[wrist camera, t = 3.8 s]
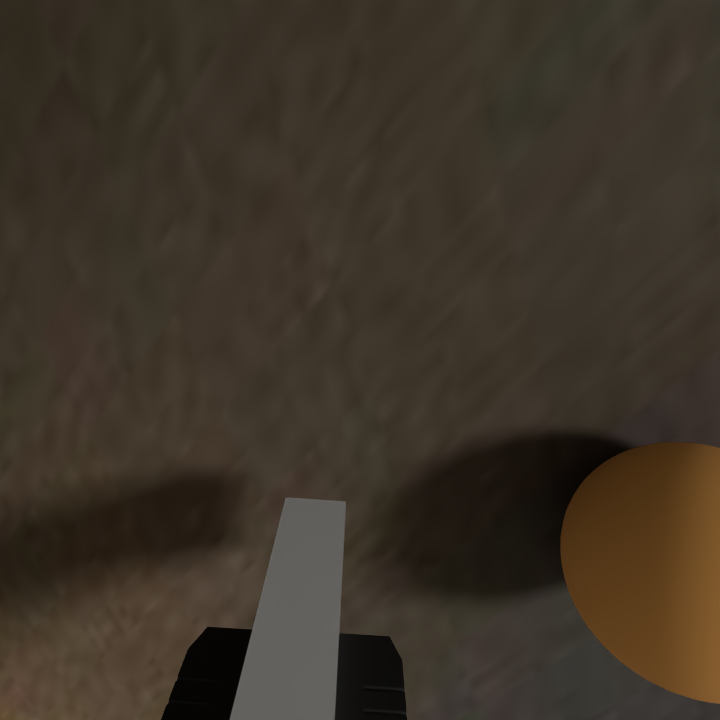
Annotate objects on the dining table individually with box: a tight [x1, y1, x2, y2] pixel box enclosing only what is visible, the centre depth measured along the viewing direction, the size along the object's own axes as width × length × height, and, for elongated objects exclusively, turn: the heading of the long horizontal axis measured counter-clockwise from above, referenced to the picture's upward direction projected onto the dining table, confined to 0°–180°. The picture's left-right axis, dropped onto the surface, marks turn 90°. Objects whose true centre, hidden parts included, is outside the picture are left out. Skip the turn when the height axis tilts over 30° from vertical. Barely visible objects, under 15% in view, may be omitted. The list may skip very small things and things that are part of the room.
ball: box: [560, 442, 720, 704], centre depth 13 cm, size 6×6×6 cm
